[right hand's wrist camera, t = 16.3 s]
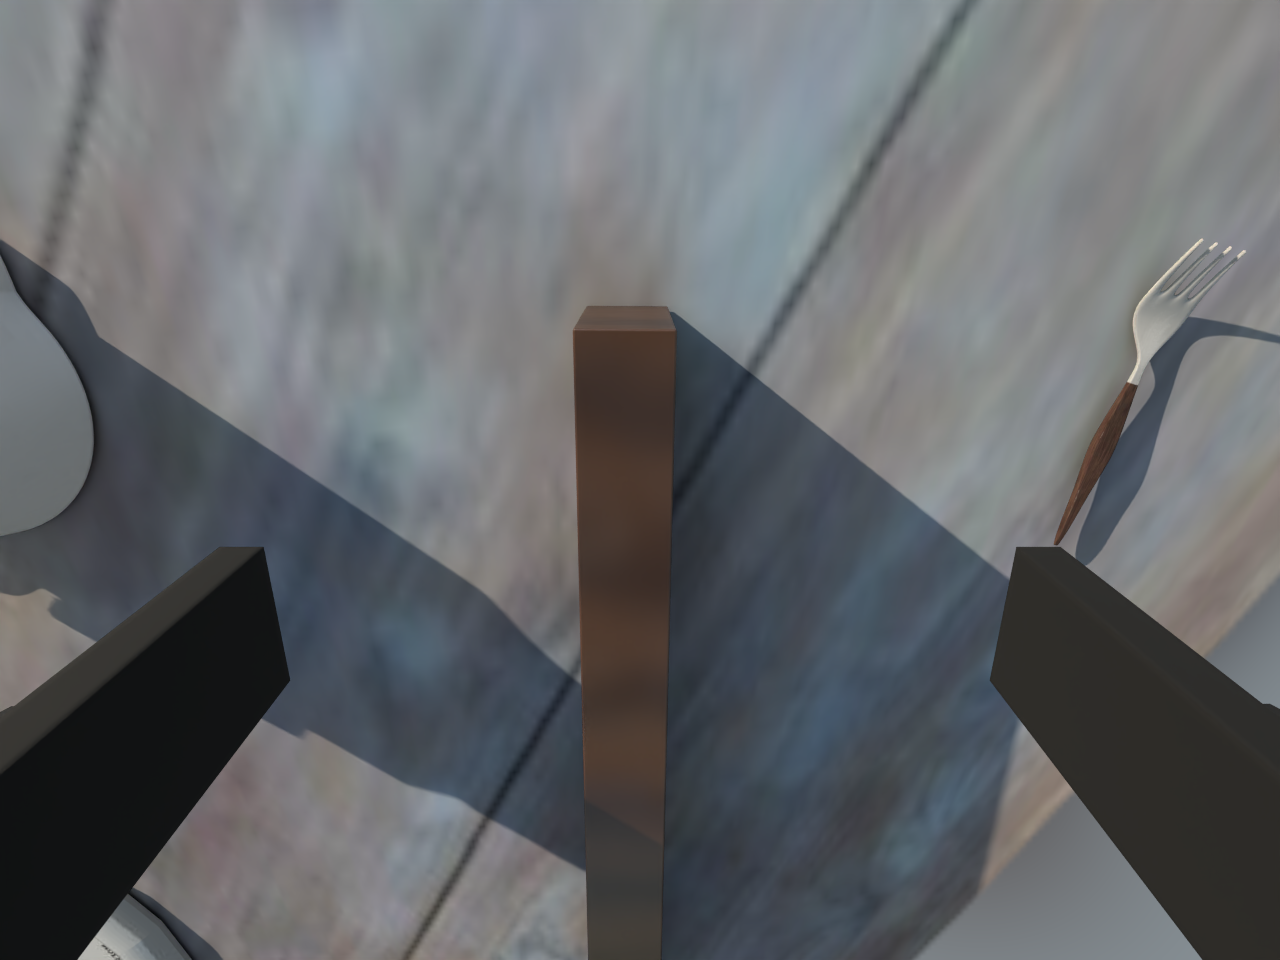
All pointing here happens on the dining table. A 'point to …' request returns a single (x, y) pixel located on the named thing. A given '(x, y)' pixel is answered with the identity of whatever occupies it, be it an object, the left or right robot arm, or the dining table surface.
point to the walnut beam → (624, 614)
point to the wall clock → (134, 937)
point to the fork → (1141, 367)
